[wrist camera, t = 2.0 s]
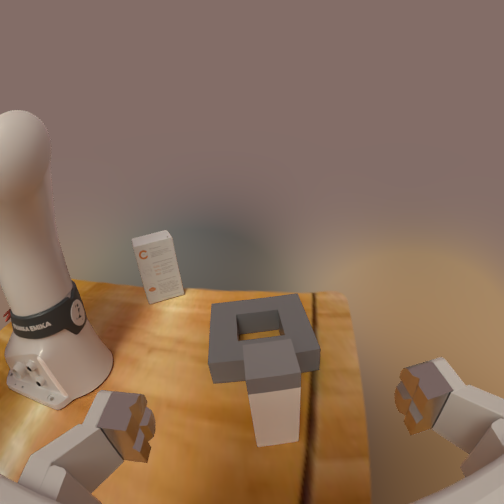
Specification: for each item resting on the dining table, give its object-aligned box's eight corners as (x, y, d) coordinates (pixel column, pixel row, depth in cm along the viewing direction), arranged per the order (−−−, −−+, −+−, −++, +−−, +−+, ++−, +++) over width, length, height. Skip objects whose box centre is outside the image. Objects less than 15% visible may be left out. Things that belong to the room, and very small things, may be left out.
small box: (178, 282, 66) (167, 228, 61) (185, 294, 61) (172, 236, 56) (145, 292, 63) (131, 238, 58) (148, 305, 58) (132, 246, 53)
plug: (257, 446, 27) (245, 379, 23) (253, 416, 31) (242, 345, 27) (298, 441, 27) (300, 372, 23) (291, 411, 32) (290, 338, 27)
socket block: (213, 383, 37) (208, 363, 36) (215, 322, 51) (211, 303, 49) (319, 369, 38) (320, 348, 36) (297, 312, 51) (297, 293, 50)
